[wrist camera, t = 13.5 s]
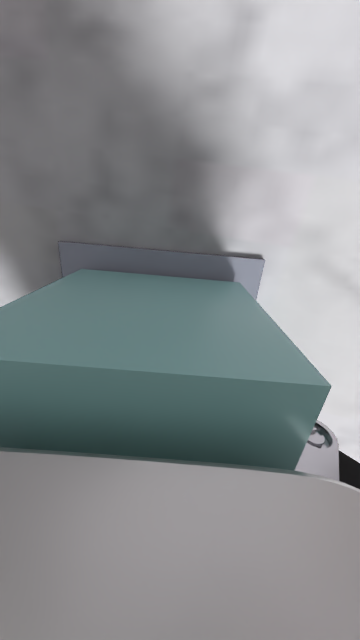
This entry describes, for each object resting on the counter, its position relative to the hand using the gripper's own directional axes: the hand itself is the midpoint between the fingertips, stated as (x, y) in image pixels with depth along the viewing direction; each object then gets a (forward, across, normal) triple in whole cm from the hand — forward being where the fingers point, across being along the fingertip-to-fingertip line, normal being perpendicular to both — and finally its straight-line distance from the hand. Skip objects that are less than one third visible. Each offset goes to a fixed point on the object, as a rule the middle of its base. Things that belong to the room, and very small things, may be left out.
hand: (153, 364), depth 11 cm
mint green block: (+2, 0, 0) cm, 2 cm away
